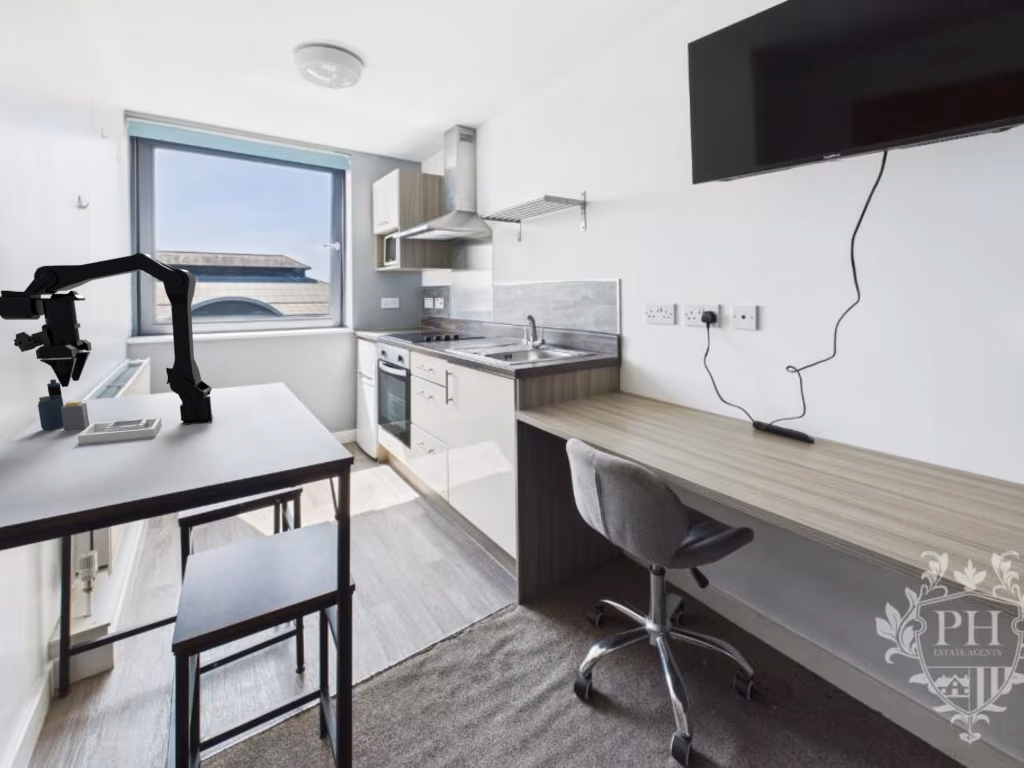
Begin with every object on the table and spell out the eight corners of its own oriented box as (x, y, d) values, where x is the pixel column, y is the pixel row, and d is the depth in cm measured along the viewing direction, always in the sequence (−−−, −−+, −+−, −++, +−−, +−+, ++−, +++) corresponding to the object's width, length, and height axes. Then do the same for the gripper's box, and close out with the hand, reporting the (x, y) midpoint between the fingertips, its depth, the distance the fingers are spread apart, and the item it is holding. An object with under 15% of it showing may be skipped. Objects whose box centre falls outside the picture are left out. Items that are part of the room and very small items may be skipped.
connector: (89, 425, 126) (85, 399, 124) (85, 429, 122) (81, 402, 121) (69, 427, 124) (65, 401, 123) (64, 431, 120) (60, 404, 119)
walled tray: (161, 425, 127) (161, 417, 127) (155, 436, 117) (154, 428, 117) (92, 431, 121) (91, 423, 120) (78, 444, 110) (77, 435, 110)
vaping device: (69, 425, 126) (62, 379, 124) (48, 430, 120) (40, 382, 118) (60, 425, 126) (53, 378, 124) (38, 430, 121) (31, 382, 119)
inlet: (149, 427, 124) (148, 418, 124) (144, 434, 118) (143, 425, 117) (112, 430, 121) (111, 421, 120) (105, 438, 114) (104, 428, 114)
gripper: (30, 318, 122) (40, 380, 125) (-1, 322, 106) (11, 393, 109) (87, 317, 128) (96, 377, 130) (66, 321, 112) (76, 389, 114)
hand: (70, 383), depth 121 cm, fingers open, 9 cm apart
